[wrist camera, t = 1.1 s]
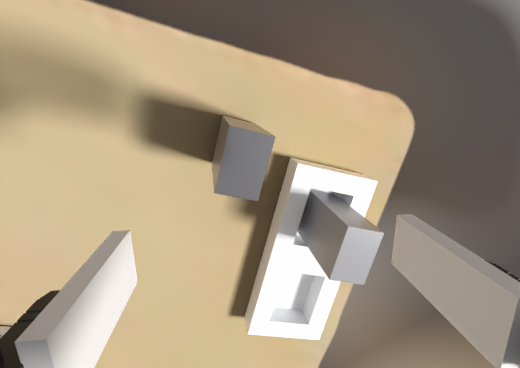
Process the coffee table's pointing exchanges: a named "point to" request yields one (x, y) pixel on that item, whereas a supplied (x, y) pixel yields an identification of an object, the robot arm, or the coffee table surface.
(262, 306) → the socket strip
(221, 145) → the grey rectangular block
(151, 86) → the coffee table surface
